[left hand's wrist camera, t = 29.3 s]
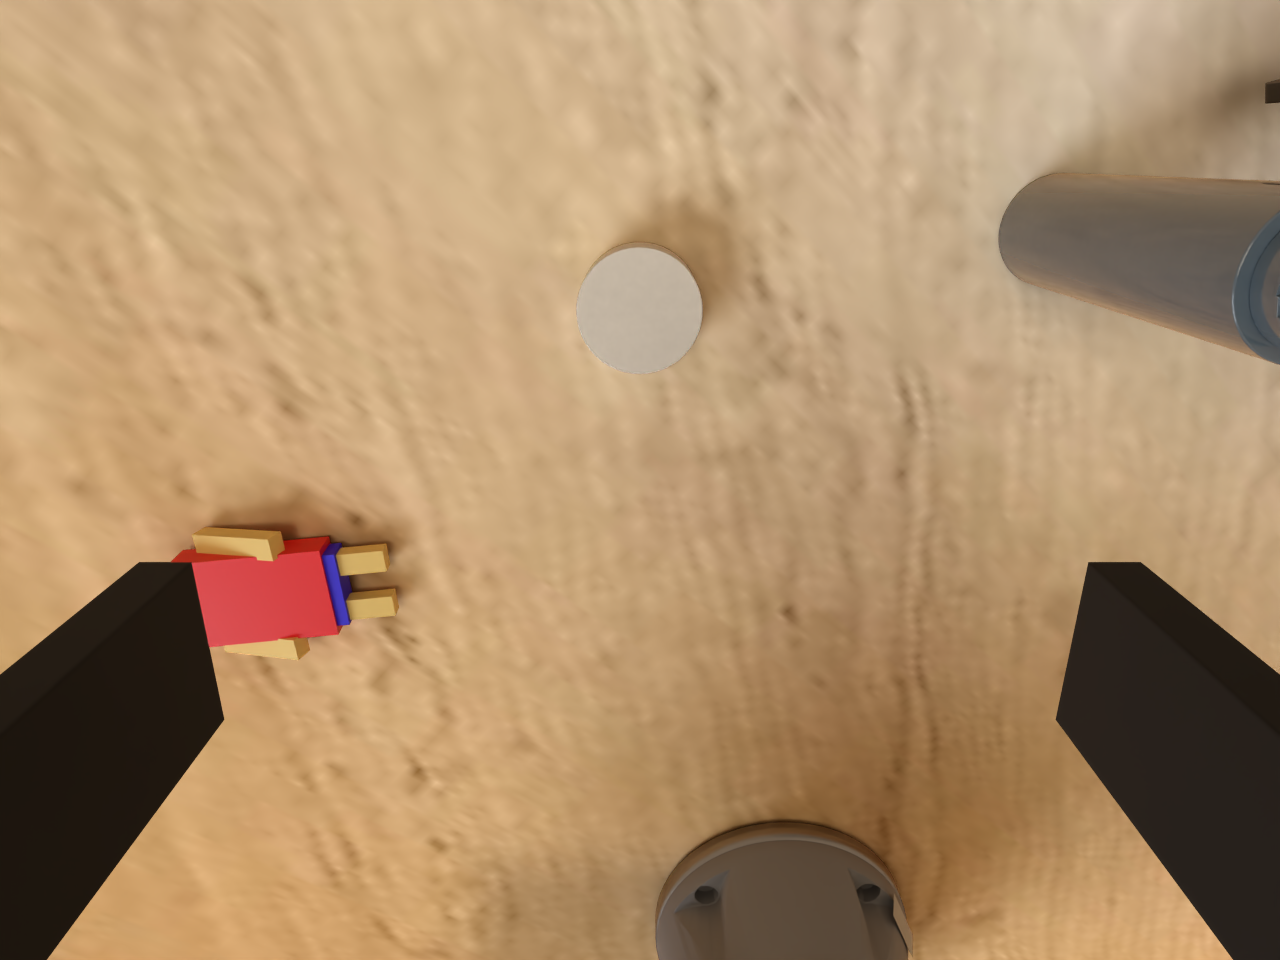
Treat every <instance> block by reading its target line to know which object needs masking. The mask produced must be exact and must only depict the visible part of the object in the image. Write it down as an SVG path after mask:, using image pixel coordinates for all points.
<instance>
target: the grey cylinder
mask: <svg viewBox="0 0 1280 960" xmlns="http://www.w3.org/2000/svg"><path fill="white" fill-rule="evenodd" d="M999 247H1000V252H1001V255H1002V258H1003V260H1004V262H1005V264H1006V266H1007V267H1008V269H1009V270H1010V271H1011V272H1012V273H1013V274H1014V275H1015V276H1016V277H1018V278H1019V279H1021V280H1022V281H1024V282H1027V283H1029V284H1032V285H1035V286H1038V287H1041V288H1044V289H1047V290H1051V291H1054V292H1057V293H1060V294H1063V295H1066V296H1069V297H1072V298H1075V299H1078V300H1081V301H1084V302H1087V303H1090V304H1094V305H1097V306H1100V307H1103V308H1106V309H1109V310H1112V311H1115V312H1118V313H1121V314H1124V315H1127V316H1130V317H1134V318H1137V319H1140V320H1143V321H1146V322H1149V323H1152V324H1155V325H1158V326H1161V327H1164V328H1167V329H1170V330H1173V331H1177V332H1180V333H1183V334H1186V335H1189V336H1192V337H1195V338H1198V339H1201V340H1204V341H1207V342H1210V343H1213V344H1217V345H1220V346H1223V347H1226V348H1229V349H1232V350H1235V351H1238V352H1241V353H1244V354H1247V355H1250V356H1253V357H1256V358H1260V359H1263V360H1266V361H1269V362H1272V363H1275V364H1279V365H1280V181H1268V180H1241V179H1215V178H1188V177H1161V176H1135V175H1108V174H1081V173H1056V174H1051V175H1047V176H1044V177H1041V178H1039V179H1037V180H1035V181H1033V182H1032V183H1030V184H1029V185H1027V186H1026V187H1025V188H1024V189H1022V190H1021V191H1020V192H1019V193H1018V194H1017V195H1016V196H1015V198H1014V199H1013V200H1012V202H1011V203H1010V205H1009V206H1008V208H1007V210H1006V212H1005V214H1004V216H1003V219H1002V222H1001V226H1000V231H999Z"/></svg>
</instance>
